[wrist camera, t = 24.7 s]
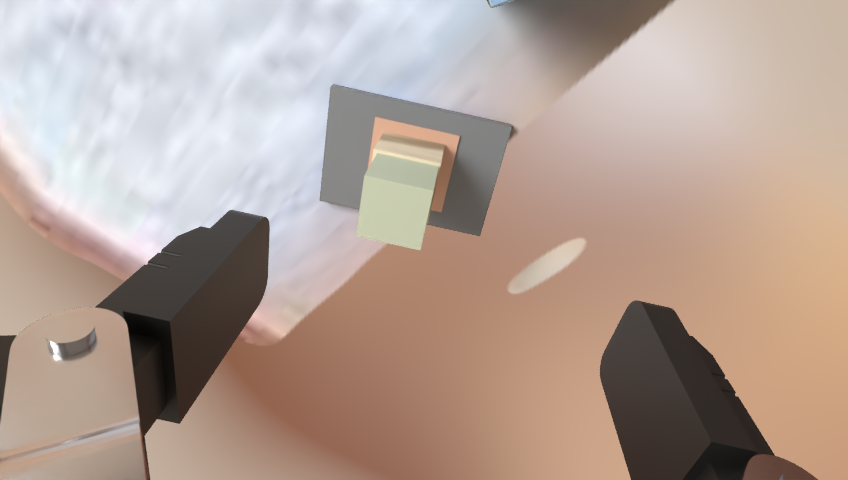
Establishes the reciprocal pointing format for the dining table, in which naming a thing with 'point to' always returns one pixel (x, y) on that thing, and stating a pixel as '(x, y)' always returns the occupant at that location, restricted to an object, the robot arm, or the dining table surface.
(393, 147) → the maple base block
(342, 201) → the slate board
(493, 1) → the gum box
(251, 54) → the dining table surface
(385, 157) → the sage top cube
